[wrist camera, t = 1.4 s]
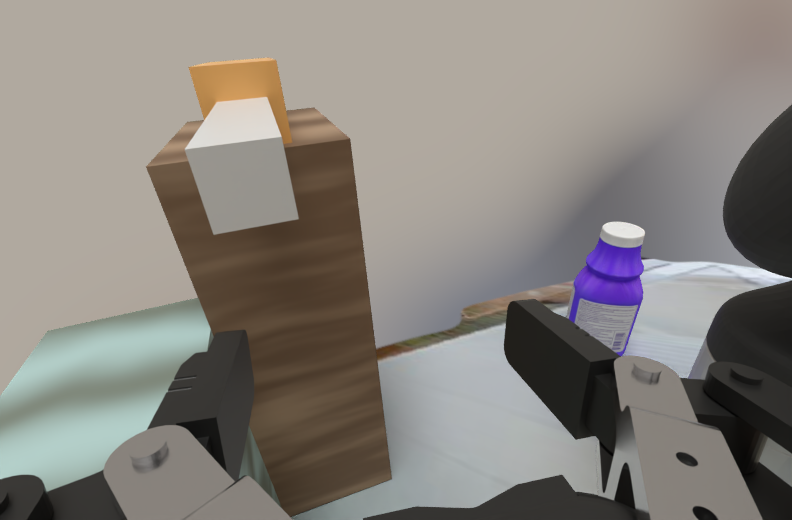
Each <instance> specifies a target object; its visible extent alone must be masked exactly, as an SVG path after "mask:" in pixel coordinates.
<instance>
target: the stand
mask: <svg viewBox="0 0 792 520" xmlns="http://www.w3.org/2000/svg"><path fill="white" fill-rule="evenodd" d="M286 113H287V118H288V123H289V128H290V133H291V138H292V143H286V144H283V146H284V151H285V155H286V160H287V165H288V170H289V174H290V179H291V184H292V189H293V193H294V198H295V203H296V208H297V213H298V217H299V219H297V220H291V221H286V222H280V223H275V224H270V225H264V226H259V227H253V228H248V229H242V230H237V231H232V232H226V233H221V234H215V235H213V232H212V229H211V226H210V223H209V220H208V217H207V214H206V211H205V208H204V205H203V202H202V199H201V196H200V193H199V190H198V187H197V184H196V181H195V179H194V176H193V173H192V170H191V167H190V164H189V161H188V158H187V155H186V152H185V148H186V147H187V145H188V144H189V142H190V141H191V139H192V138H193V136H194V135H195V133H196V132H197V131H198V129H199V128H200V126H201V125H202V123H203V122H204V120H202V121H193V122H187V123H186V124H185V125H184V126H183V127H182V128H181V129H180V130H179V131H178V133H177V134H176V135H175V136H174V137H173V138H172V139H171V140H170V141H169V142H168V144H167V145H166V146H165V147H164V148H163V149H162V150H161V151H160V152H159V153H158V154H157V156H156V157H155V158H154V159H153V160H152V161H151V162H150V163H149V164H148V165H147V166H146V168H147V170H148V173H149V175H150V177H151V180H152V183H153V185H154V188H155V190H156V192H157V195H158V198H159V200H160V203H161V205H162V208H163V210H164V213H165V215H166V218H167V220H168V223H169V225H170V227H171V231H172V233H173V236H174V238H175V241H176V243H177V245H178V248H179V251H180V253H181V256H182V258H183V261H184V263H185V266H186V268H187V271H188V273H189V276H190V278H191V281H192V283H193V286H194V288H195V291H196V293H197V296H198V298H195V299H191V300H186V301H182V302H177V303H173V304H168V305H164V306H159V307H155V308H150V309H145V310H141V311H136V312H132V313H128V314H123V315H119V316H114V317H109V318H105V319H100V320H96V321H91V322H86V323H82V324H77V325H73V326H68V327H64V328H59V329H55V330H51V331H47V333H46V334H45V335H44V337H43V338H42V339H41V341H40V342H39V344H38V345H37V347H36V348H35V349H34V351H33V352H32V353H31V355H30V356H29V357H28V359H27V360H26V361H25V363H24V364H23V366H22V367H21V369H20V370H19V371H18V372H17V374H16V375H15V377H14V378H13V379H12V381H11V382H10V384H9V385H8V386H7V388H6V389H5V390H4V392H3V393H2V394H1V396H0V479H3V478H7V477H11V476H16V475H35V476H37V477H39V478H40V479H41V480H42V481H43V483H44V486H45V488H46V491H50V490H53V489H55V488H58V487H61V486H63V485H66V484H69V483H71V482H74V481H77V480H80V479H82V478H85V477H88V476H90V475H93V474H95V473H97V472H100V471H102V470H104V466H105V463H106V461H107V459H108V458H109V456H110V455H111V454H112V453H113V452H114V451H115V450H116V448H118V447H119V446H120V445H121V444H122V443H124V442H125V441H127V440H128V439H130V438H131V437H133V436H135V435H137V434H139V433H141V432H143V431H146V430H147V428H148V426H149V424H150V422H151V421H152V419H153V417H154V415H155V413H156V411H157V409H158V407H159V405H160V404H161V402H162V400H163V398H164V396H165V394H166V392H168V388H169V387H170V385H171V383H172V381H174V377H175V375H176V373H177V371H178V370H179V368H180V366H181V365H182V364H183V363H184V362H185V361H186V360H187V359H189V358H190V357H191V356H192V355H193V354H195V353H199V352H207V351H208V349H209V347H210V344H211V342H212V340H213V338H214V335H215V333H217V332H225V331H234V330H244V329H245V330H246V332H247V336H248V343H249V349H250V356H251V363H252V370H253V377H254V401H253V406H252V411H251V417H250V422H249V427H248V432H247V438H246V443H245V448H244V454H243V459H242V464H241V469H240V475H239V479H240V478H241V477H242V476H244V475H247V476H249V477H251V478H252V479H253V480H254V481H256V482H257V483H258V484H259V486H260V487H261V488H262V489H263V490H264V491H265V492H266V493H267V494H268V495H269V496H270V497H271V498H272V499H273V500H274V501H275V502H276V503H277V504H278V505H279V506H280V507H281V508H282V509H283V510H284V511H285V512H286V513H287V514H288V515H289V516H290V517H292V516H294V515H297V514H300V513H302V512H305V511H308V510H310V509H313V508H316V507H318V506H321V505H324V504H326V503H329V502H332V501H334V500H337V499H340V498H342V497H345V496H348V495H350V494H353V493H356V492H358V491H361V490H364V489H367V488H369V487H372V486H375V485H377V484H380V483H383V482H385V481H388V480H391V479H392V477H391V469H390V461H389V453H388V445H387V436H386V428H385V420H384V412H383V404H382V396H381V387H380V379H379V371H378V363H377V355H376V347H375V338H374V330H373V323H372V314H371V306H370V297H369V290H368V282H367V273H366V266H365V257H364V250H363V249H364V248H363V240H362V232H361V225H360V216H359V208H358V199H357V191H356V183H355V175H354V167H353V159H352V151H351V142H350V138H348V137H347V136H346V135H345V134H344V133H343V132H342V131H340V130H339V129H338V128H337V127H336V126H335V125H334V124H333V123H331V122H330V121H329V120H328V119H327V118H326V117H325V116H323V115H322V114H321V113H320V112H319V111H318V110H316V109H315V108H306V109H297V110H288V111H286Z"/></svg>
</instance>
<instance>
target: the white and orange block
mask: <svg viewBox="0 0 792 520" xmlns="http://www.w3.org/2000/svg"><path fill="white" fill-rule="evenodd" d="M189 70H190V74H191V77H192V80H193V84H194V87H195V90H196V94H197V97H198V100H199V104H200V107H201V110H202V114H203V117H204V122H203V123H202V125H201V126H200V128H199V129H198V131H197V132H196V133H195V135H194V136H193V138H192V139H191V141H190V142H189V144H188V145H187V147H186V148H185V152H186V155H187V158H188V161H189V164H190V167H191V170H192V173H193V176H194V179H195V181H196V184H197V187H198V190H199V193H200V196H201V199H202V202H203V205H204V208H205V211H206V214H207V217H208V220H209V223H210V226H211V229H212V232H213V235H215V234H221V233H226V232H232V231H237V230H242V229H248V228H253V227H259V226H264V225H270V224H275V223H280V222H286V221H291V220H297V219H299V217H298V213H297V208H296V203H295V198H294V193H293V189H292V184H291V179H290V174H289V170H288V165H287V160H286V155H285V151H284V146H283V144H286V143H292V138H291V133H290V128H289V123H288V118H287V113H286V108H285V103H284V97H283V93H282V87H281V82H280V77H279V72H278V67H277V62H276V60H274V59H271V58H258V59H245V60H233V61H220V62H208V63H204V64H200V65H195V66H192V67H189Z"/></svg>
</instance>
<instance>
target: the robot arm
mask: <svg viewBox="0 0 792 520" xmlns="http://www.w3.org/2000/svg"><path fill="white" fill-rule="evenodd" d="M723 220H724V226H725V230H726V232H727V235H728V237H729V239H730V240H731V242H732V244H733V245H734V247H735V248H736V249H737V250H738V251H739V252H740V253H741V254H742V255H743V256H744V257H745V258H746V259H748V260H749V261H751V262H752V263H754V264H755V265H757V266H759V267H760V268H762V269H765V270H767V271H770V272H772V273H775V274H778V275H782V276H785V277H789V278H792V105H791V106H790V107H789V108H788V109H786V111H784V112H783V113H782V114H781V115H780V116H779V117H777V118H776V119H775V120H774V121H773V122H772V123H771V124H770V125H769V126H768V127H767V128H766V130H765V131H764V132H763V133H762V134H761V135H760V136H759V137H758V139H757V140H756V141H755V142H754V143H753V144H752V146H751V147H750V148H749V150H748V151H747V153H746V154H745V156H744V157H743V158H742V160H741V161H740V163H739V165H738V167H737V169H736V171H735V173H734V175H733V177H732V179H731V181H730V184H729V186H728V189H727V192H726V195H725V200H724V206H723ZM504 351H505V355H506V358H507V361H508V362H509V364H510V365H511V366H512V367H513V369H514V370H515V371H516V372H517V373H518V374H519V375H520V376H521V378H522V379H523V380H524V381H525V382H526V383H527V384H528V386H529V387H530V388H531V389H532V390H533V391H534V392H535V394H536V395H537V396H538V397H539V398H540V399H541V400H542V402H543V403H544V404H545V405H546V406H547V407H548V408H549V409H550V411H551V412H552V413H553V414H554V415H555V416H556V417H557V419H558V420H559V421H560V422H561V423H562V424H563V425H564V427H565V428H566V429H567V430H568V431H569V432H570V433H571V435H572V436H573V437H574V438H575V439H581V438H586V437H591V436H596V437H597V438H598V441H597V445H596V466H597V485H598V495H594V494H589V493H582V492H575V491H574V490H573V489H572V487H571V486H570V485H569V483H568V482H567V481H566V479H565V478H564V477H563V475H559V476H554V477H549V478H545V479H540V480H536V481H531V482H527V483H522V484H518V485H516V486H514V487H512V488H510V489H508V490H507V491H505V492H503V493H501V494H500V495H498V496H496V497H494V498H492V499H491V500H489V501H487V502H485V503H483V504H482V505H480V506H478V507H475V508H443V507H412V508H408V509H403V510H399V511H394V512H390V513H385V514H380V515H376V516H371V517H367V518H363V520H792V281H789V282H785V283H781V284H777V285H773V286H769V287H765V288H760V289H756V290H752V291H748V292H745V293H742V294H739V295H737V296H735V297H733V298H731V299H729V300H728V301H727V302H725V303H724V304H723V305H722V306H721V308H720V309H719V310H718V312H717V314H716V315H715V317H714V319H713V322H712V324H711V326H710V328H709V331H708V333H707V336H706V338H705V341H704V343H703V345H702V347H701V349H700V352H699V354H698V356H697V358H696V361H695V363H694V365H693V367H692V370H691V372H690V375H689V377H688V379H687V378H680V377H679V376H678V375H677V373H676V372H674V371H673V370H672V369H670V368H669V367H667V366H666V365H664V364H662V363H660V362H657V361H654V360H652V359H648V358H644V357H639V356H622V357H621V356H620V355H618V354H617V353H616V352H614V351H613V350H611V349H610V348H609V347H607V346H606V345H604V344H603V343H602V342H600V341H599V340H597V339H596V338H594V337H593V336H590V334H589V333H587V332H586V331H585V330H583V329H580V327H579V326H578V325H576V324H575V323H573V322H572V321H571V320H569V319H568V318H565V317H563V316H561V315H558V314H556V313H554V312H552V311H551V310H550V309H548V308H547V307H546V306H544V305H543V304H541V303H540V302H539V301H537V300H536V299H528V300H519V301H512V302H510V304H509V306H508V310H507V319H506V329H505V339H504ZM253 401H254V377H253V370H252V363H251V356H250V349H249V343H248V336H247V332H246V330H245V329H244V330H234V331H225V332H217V333H215V335H214V338H213V340H212V342H211V344H210V347H209V349H208V351H207V352H199V353H195V354H193V355H192V356H191V357H190V358H189V359H187V360H186V361H185V362H184V363H183V364H182V365H181V366H180V368H179V370H178V371H177V373H176V375H175V377H174V381H172V383H171V385H170V387H169V388H168V392H166V394H165V396H164V398H163V400H162V402H161V404H160V405H159V407H158V409H157V411H156V413H155V415H154V417H153V419H152V421H151V422H150V424H149V426H148V428H147V430H146V431H143V432H141V433H139V434H137V435H135V436H133V437H131V438H130V439H128V440H127V441H125V442H124V443H122V444H121V445H120V446H119V447H118V448H116V450H115V451H114V452H113V453H112V454H111V455H110V456H109V458H108V459H107V461H106V463H105V466H104V470H102V471H100V472H97V473H95V474H93V475H90V476H88V477H85V478H82V479H80V480H77V481H74V482H71V483H69V484H66V485H63V486H61V487H58V488H55V489H53V490H50V491H46V488H45V486H44V483H43V481H42V480H41V479H40V478H39V477H37V476H35V475H16V476H11V477H7V478H3V479H0V520H292V519H291V518H290V516H289V515H288V514H287V513H286V512H285V511H284V510H283V509H282V508H281V507H280V506H279V505H278V504H277V503H276V502H275V501H274V500H273V499H272V498H271V497H270V496H269V495H268V494H267V493H266V492H265V491H264V490H263V489H262V488H261V487H260V486H259V484H258V483H257V482H256V481H254V480H253V479H252V478H251V477H249V476H247V475H244V476H242V477H241V478H240V479H239V475H240V469H241V464H242V459H243V454H244V448H245V443H246V438H247V432H248V427H249V422H250V417H251V411H252V406H253Z"/></svg>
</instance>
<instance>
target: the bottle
mask: <svg viewBox="0 0 792 520" xmlns="http://www.w3.org/2000/svg"><path fill="white" fill-rule="evenodd" d="M644 235H645V231H644V230H643V229H642V228H640V227H638V226H636V225H633V224H630V223H625V222H609V223H606V224H604V225H603V227H602V231H601V234H600V238H599V241H598V244H597V246H596V248H595V249H594V250H593V251H592V252H591V253H590V254H589V255H588V256H587V258H586V264H587V266H585V267H584V268H583V269H582V270H581V271H580V272H579V274H578V275H577V277H576V279H575V281H574V284H573V288H572V293H571V298H570V302H569V307H568V311H567V316H566V318H568V319H569V320H571V321H572V322H573V323H575V324H576V325H578V326H579V327H580V329H583V330H585V331H586V332H587V333H589V334H590V336H593V337H594V338H596V339H597V340H599V341H600V342H602V343H603V344H604V345H606V346H607V347H609V348H610V349H611V350H613V351H614V352H616V353H617V354H618V355H620V356H622V354H623V353H624V351H625V349H626V346H627V344H628V340H629V337H630V334H631V331H632V328H633V325H634V323H635V320H636V316H637V314H638V311H639V308H640V305H641V302H642V299H643V289H642V284H641V280H640V275H641V274H642V272H643V270H644V265H643V264H642V261H641V255H640V252H641V246H642V243H643V239H644Z"/></svg>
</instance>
